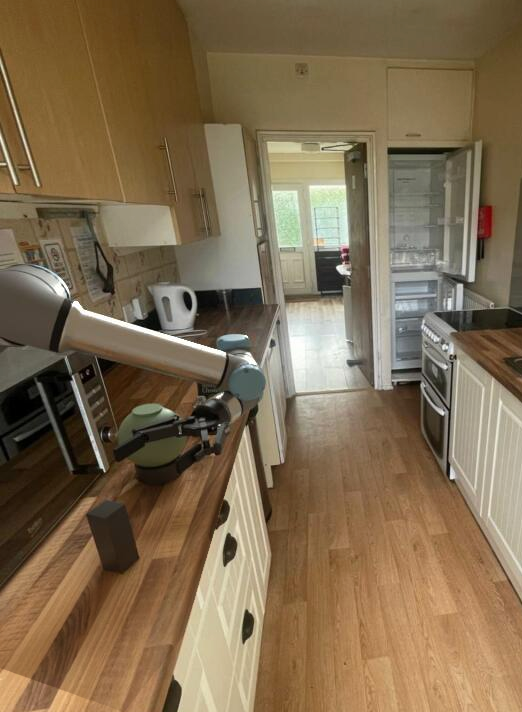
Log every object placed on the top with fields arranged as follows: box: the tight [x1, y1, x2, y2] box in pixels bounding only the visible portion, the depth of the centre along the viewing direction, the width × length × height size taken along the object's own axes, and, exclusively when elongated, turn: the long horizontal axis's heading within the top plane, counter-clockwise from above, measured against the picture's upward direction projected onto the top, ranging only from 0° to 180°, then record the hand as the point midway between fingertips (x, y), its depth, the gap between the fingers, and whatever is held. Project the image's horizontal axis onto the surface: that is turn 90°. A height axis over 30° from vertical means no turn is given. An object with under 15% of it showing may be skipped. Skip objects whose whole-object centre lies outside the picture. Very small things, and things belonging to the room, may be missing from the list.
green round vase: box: [117, 403, 188, 486], centre depth 99 cm, size 14×14×17 cm
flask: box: [192, 395, 207, 439], centre depth 121 cm, size 9×3×11 cm, turn 14°
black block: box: [85, 499, 140, 575], centre depth 74 cm, size 4×4×12 cm
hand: (145, 461), depth 78 cm, fingers open, 13 cm apart
